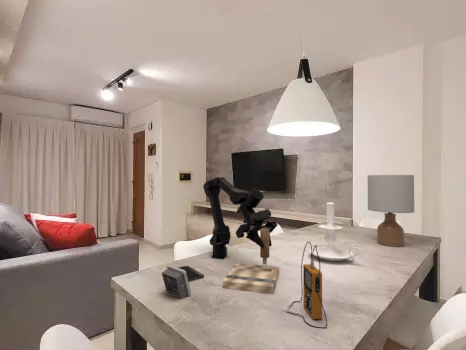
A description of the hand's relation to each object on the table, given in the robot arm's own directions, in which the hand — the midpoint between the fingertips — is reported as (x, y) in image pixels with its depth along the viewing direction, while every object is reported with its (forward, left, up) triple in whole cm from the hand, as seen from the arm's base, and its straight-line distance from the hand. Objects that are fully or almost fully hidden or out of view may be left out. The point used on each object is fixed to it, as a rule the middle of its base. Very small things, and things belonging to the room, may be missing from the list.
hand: (267, 246), depth 99 cm
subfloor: (-5, -3, -12) cm, 14 cm away
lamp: (+64, +75, -13) cm, 100 cm away
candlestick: (+28, +34, -13) cm, 46 cm away
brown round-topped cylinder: (-1, +1, -7) cm, 7 cm away
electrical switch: (-27, -22, -13) cm, 37 cm away
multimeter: (+13, -23, -13) cm, 30 cm away
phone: (-32, -4, -13) cm, 35 cm away
